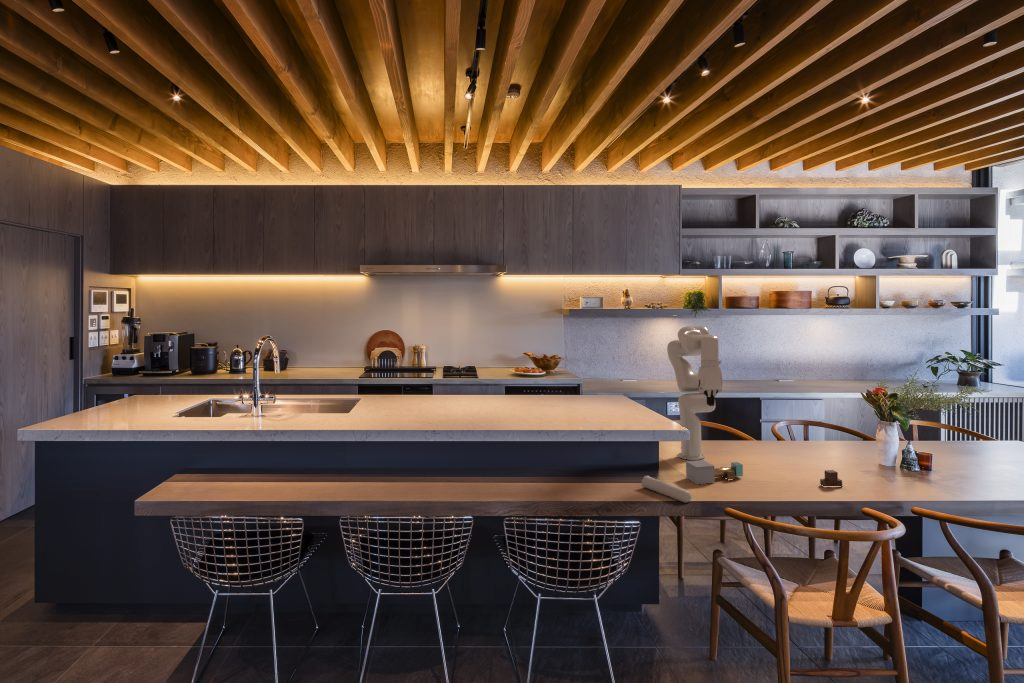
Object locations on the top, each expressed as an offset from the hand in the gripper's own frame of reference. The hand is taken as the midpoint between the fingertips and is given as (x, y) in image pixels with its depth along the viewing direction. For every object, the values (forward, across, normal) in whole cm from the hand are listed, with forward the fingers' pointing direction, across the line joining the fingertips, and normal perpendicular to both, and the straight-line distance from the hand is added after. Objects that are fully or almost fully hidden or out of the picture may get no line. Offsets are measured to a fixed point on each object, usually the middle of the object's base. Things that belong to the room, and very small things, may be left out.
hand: (710, 405), depth 268 cm
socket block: (+31, +10, +8) cm, 33 cm away
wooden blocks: (+31, -36, +32) cm, 57 cm away
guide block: (+31, -3, +8) cm, 32 cm away
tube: (+31, +31, +22) cm, 49 cm away
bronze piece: (+30, +1, +8) cm, 31 cm away
